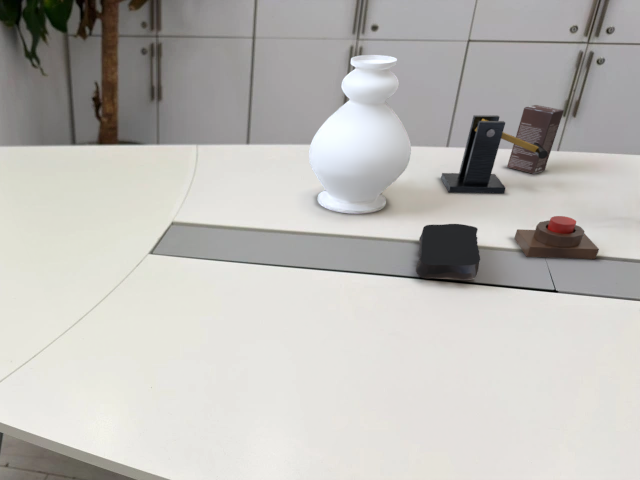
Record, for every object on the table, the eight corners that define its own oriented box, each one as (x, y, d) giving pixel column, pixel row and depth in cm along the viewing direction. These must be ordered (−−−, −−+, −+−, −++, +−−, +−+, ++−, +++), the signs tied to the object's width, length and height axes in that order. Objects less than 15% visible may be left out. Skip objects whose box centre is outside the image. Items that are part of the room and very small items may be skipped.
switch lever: (534, 154, 130) (542, 142, 129) (542, 162, 126) (551, 150, 125) (472, 128, 129) (480, 116, 128) (479, 135, 125) (487, 123, 124)
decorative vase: (287, 192, 134) (301, 55, 119) (366, 180, 138) (389, 46, 123) (333, 225, 120) (355, 74, 105) (420, 211, 124) (453, 63, 109)
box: (545, 170, 139) (565, 109, 132) (532, 175, 137) (552, 113, 130) (518, 163, 143) (536, 103, 136) (505, 167, 141) (522, 107, 134)
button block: (579, 240, 111) (586, 220, 109) (595, 259, 105) (603, 238, 103) (513, 238, 113) (520, 218, 111) (526, 256, 107) (533, 236, 105)
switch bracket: (493, 179, 135) (511, 113, 128) (504, 193, 129) (524, 124, 122) (440, 178, 137) (456, 113, 130) (448, 192, 131) (465, 124, 123)
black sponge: (475, 289, 99) (482, 266, 97) (414, 281, 102) (419, 259, 99) (472, 245, 111) (478, 224, 109) (417, 239, 114) (422, 218, 112)
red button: (568, 226, 108) (571, 216, 107) (576, 235, 105) (580, 224, 104) (543, 225, 109) (547, 215, 108) (551, 234, 106) (554, 224, 105)
